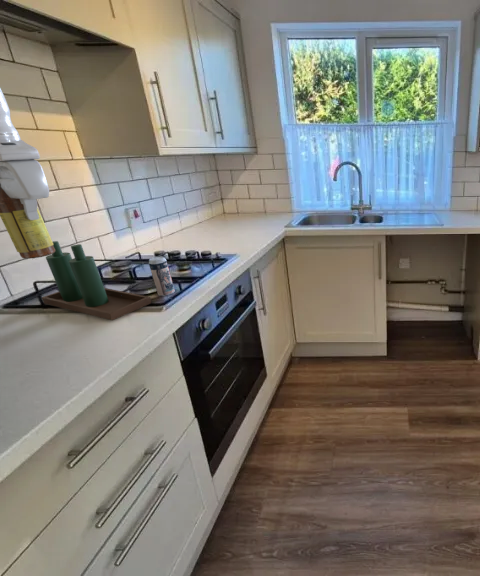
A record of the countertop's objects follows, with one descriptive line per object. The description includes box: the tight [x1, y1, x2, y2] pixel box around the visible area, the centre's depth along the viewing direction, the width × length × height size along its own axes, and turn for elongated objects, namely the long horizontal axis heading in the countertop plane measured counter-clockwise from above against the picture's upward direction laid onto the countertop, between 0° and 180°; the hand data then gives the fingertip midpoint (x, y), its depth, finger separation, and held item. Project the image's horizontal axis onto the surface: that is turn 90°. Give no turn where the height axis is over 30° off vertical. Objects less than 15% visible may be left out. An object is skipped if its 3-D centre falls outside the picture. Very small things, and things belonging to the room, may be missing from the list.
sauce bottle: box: [0, 184, 55, 260], centre depth 78 cm, size 6×6×20 cm
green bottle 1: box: [45, 240, 83, 302], centre depth 109 cm, size 6×6×18 cm
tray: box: [41, 287, 152, 321], centre depth 108 cm, size 32×12×3 cm, turn 68°
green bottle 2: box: [69, 243, 109, 307], centre depth 105 cm, size 6×6×18 cm
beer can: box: [148, 255, 176, 297], centre depth 113 cm, size 5×5×12 cm
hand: (23, 218), depth 78 cm, fingers closed on sauce bottle, 6 cm apart
